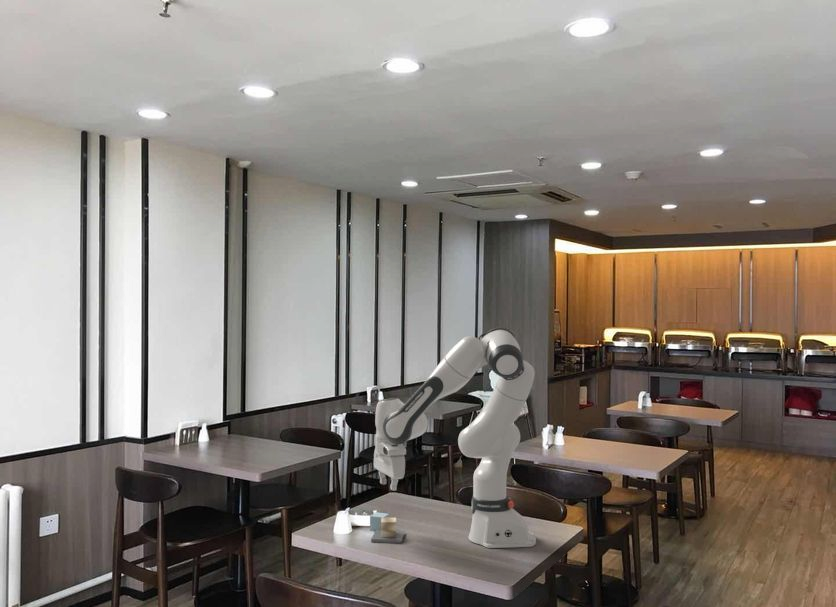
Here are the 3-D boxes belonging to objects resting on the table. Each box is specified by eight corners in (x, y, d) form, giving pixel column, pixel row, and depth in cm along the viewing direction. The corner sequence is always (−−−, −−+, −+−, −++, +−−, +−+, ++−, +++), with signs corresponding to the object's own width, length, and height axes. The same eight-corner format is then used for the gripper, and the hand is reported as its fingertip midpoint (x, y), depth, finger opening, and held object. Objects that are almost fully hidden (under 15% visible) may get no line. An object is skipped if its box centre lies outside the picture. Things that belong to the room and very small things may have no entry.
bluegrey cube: (388, 528, 239) (388, 513, 239) (383, 532, 234) (383, 517, 234) (376, 526, 241) (376, 512, 241) (370, 530, 236) (370, 516, 236)
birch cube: (395, 532, 230) (395, 517, 230) (396, 537, 225) (396, 521, 225) (381, 532, 230) (381, 517, 230) (381, 537, 225) (381, 522, 225)
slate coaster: (404, 533, 232) (404, 530, 232) (401, 543, 222) (401, 540, 222) (376, 532, 233) (376, 529, 233) (371, 542, 223) (371, 539, 223)
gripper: (369, 441, 237) (369, 481, 237) (390, 451, 218) (390, 495, 218) (386, 440, 240) (386, 479, 239) (408, 450, 221) (408, 492, 221)
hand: (388, 487), depth 229 cm, fingers open, 8 cm apart
